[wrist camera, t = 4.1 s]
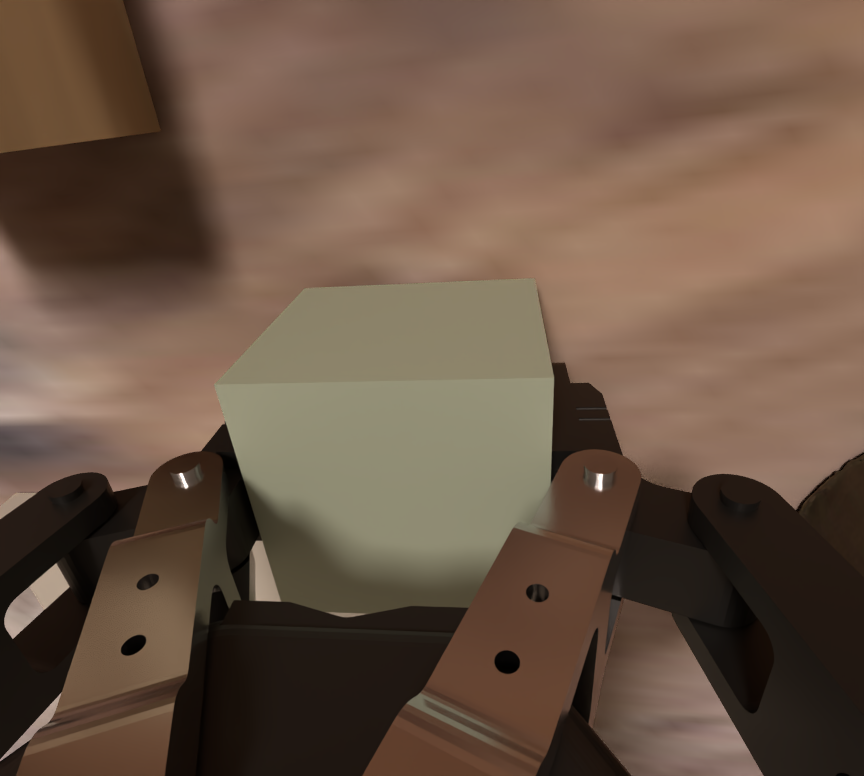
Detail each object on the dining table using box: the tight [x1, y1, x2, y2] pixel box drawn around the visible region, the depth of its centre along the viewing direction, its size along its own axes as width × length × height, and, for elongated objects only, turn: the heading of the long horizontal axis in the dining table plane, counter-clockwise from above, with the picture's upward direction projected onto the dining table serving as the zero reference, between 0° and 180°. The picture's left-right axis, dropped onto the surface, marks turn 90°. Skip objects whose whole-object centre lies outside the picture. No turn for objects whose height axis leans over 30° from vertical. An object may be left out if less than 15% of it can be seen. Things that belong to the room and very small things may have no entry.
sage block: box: [214, 278, 554, 614], centre depth 12 cm, size 5×5×5 cm
